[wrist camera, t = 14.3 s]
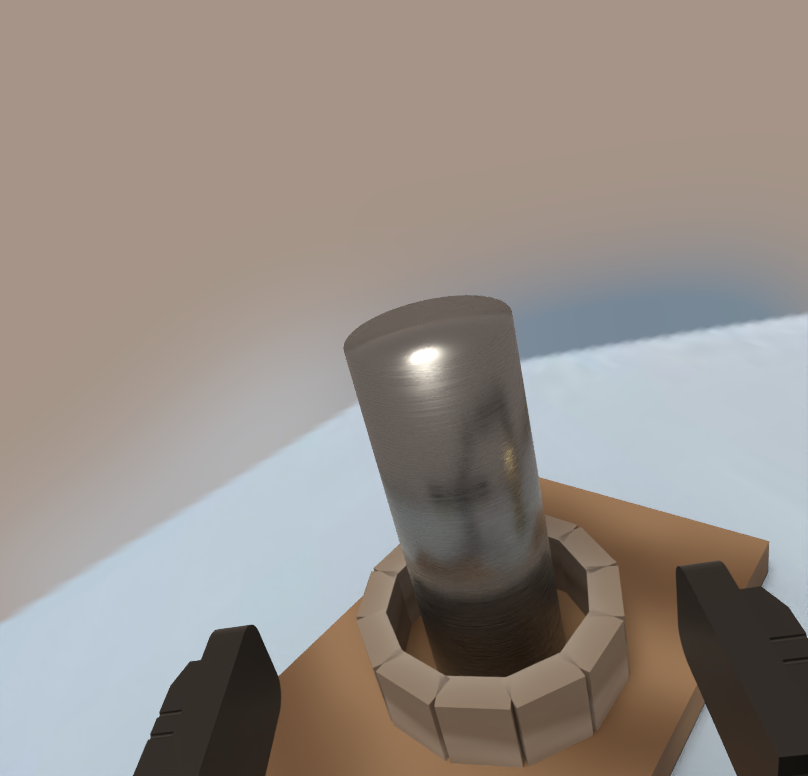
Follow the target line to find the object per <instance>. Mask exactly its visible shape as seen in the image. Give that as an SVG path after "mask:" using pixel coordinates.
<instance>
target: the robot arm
mask: <svg viewBox="0 0 808 776" xmlns="http://www.w3.org/2000/svg"><path fill="white" fill-rule="evenodd" d="M676 593H677V615H678V630H679V636H680V641H681V645H682V648H683V652H684V655H685V657H686V660H687V663H688V665H689V667H690V670H691V672H692V674H693V676H694V679H695V681H696V683H697V686H698V688H699V690H700V692H701V695H702V697H703V699H704V701H705V704H706V706H707V708H708V711H709V713H710V715H711V717H712V720H713V722H714V724H715V726H716V729H717V731H718V733H719V736H720V738H721V740H722V742H723V745H724V747H725V749H726V751H727V754H728V756H729V758H730V761H731V763H732V765H733V767H734V770H735V772H736V774H737V776H808V638H807V636H806V632H805V631H804V629H803V628H802V626H801V625H800V623H799V622H798V621H797V619H796V618H795V616H794V615H793V613H792V612H791V610H790V609H789V607H788V606H786V605H785V604H784V603H782V602H781V601H780V600H778V599H777V598H776V597H774V596H773V595H772V594H770V593H769V592H768V591H766V590H765V589H764V588H762V587H761V586H759V587H751V588H744V589H739V587H738V585H737V584H736V582H735V580H734V579H733V577H732V575H731V574H730V572H729V570H728V569H727V567H726V566H725V564H724V563H723V562H722V561H720V560H718V561H711V562H704V563H697V564H690V565H683V566H677V568H676ZM280 709H281V686H280V681H279V677H278V675H277V672H276V670H275V668H274V665H273V663H272V661H271V659H270V656H269V654H268V652H267V649H266V647H265V645H264V643H263V640H262V638H261V636H260V633H259V631H258V629H257V628H256V627H255V626H254V625H246V626H239V627H232V628H225V629H218V630H215V631H214V632H213V633H212V634H211V636H210V638H209V641H208V643H207V646H206V648H205V651H204V654H203V656H202V659H201V660H199V661H191V662H189V663H188V665H187V666H186V667H185V668H184V670H183V671H182V672H181V673H180V675H179V676H178V677H177V678H176V680H175V681H174V682H173V683H172V685H171V686H170V688H169V690H168V693H167V695H166V698H165V700H164V702H163V705H162V707H161V710H160V712H159V713H160V717H159V718H157V719H156V722H155V724H154V727H153V729H152V731H151V734H150V735H151V738H150V740H148V741H147V743H146V746H145V748H144V751H143V753H142V755H141V758H140V760H139V763H138V765H137V767H136V770H135V772H134V775H133V776H265V775H266V771H267V766H268V762H269V758H270V753H271V749H272V745H273V740H274V736H275V731H276V727H277V723H278V718H279V714H280Z"/></svg>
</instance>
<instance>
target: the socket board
mask: <svg viewBox="0 0 808 776" xmlns="http://www.w3.org/2000/svg"><path fill="white" fill-rule="evenodd" d="M539 483H540V489H541V495H542V501H543V507H544V513H545V520H546V526H547V532H548V538H549V544H550V550H551V557H552V563H553V569H554V575H555V581H556V587H557V594H558V600H559V606H560V612H561V618H562V624H563V631H564V637H565V644H566V645H565V647H564V648H563V650H562V651H561V652H560V653H558V654H556V655H554V656H551V657H549V658H547V659H545V660H543V661H541V662H538V663H536V664H534V665H532V666H530V667H527V668H525V669H523V670H521V671H519V672H516V673H514V674H512V675H510V676H508V677H474V676H445V675H443V674H442V673H440V672H438V671H437V668H436V665H435V661H434V658H433V655H432V651H431V648H430V644H429V641H428V637H427V634H426V631H425V627H424V624H423V620H422V617H421V613H420V610H419V607H418V603H417V600H416V596H415V593H414V589H413V586H412V583H411V579H410V576H409V572H408V569H407V565H406V562H405V559H404V555H403V552H402V548H401V545H400V544H399V545H398V546H397V547H396V548H395V549H394V550H393V551H392V552H391V553H390V554H388V555H387V556H386V557H385V558H384V559H383V560H382V561H381V562H380V563H379V564H378V565H377V566H375V567H374V571H371V574H370V577H369V580H368V583H367V586H366V589H365V592H364V595H363V596H362V597H361V598H360V599H359V600H358V601H357V602H356V603H355V604H354V605H353V606H352V607H351V608H350V609H349V610H348V611H347V612H346V613H345V614H344V615H342V616H341V617H340V618H339V619H338V620H337V621H336V622H335V623H334V624H333V625H332V626H331V627H330V628H329V629H328V630H327V631H326V632H325V633H324V634H323V635H321V636H320V637H319V638H318V639H317V640H316V641H315V642H314V643H313V644H312V645H311V646H310V647H309V648H308V649H307V650H306V651H305V652H304V653H303V654H302V655H300V656H299V657H298V658H297V659H296V660H295V661H294V662H293V663H292V664H291V665H290V666H289V667H288V668H287V669H286V670H285V671H284V672H283V673H282V674H281V675H279V676H278V677H279V681H280V686H281V709H280V714H279V718H278V723H277V727H276V731H275V736H274V740H273V745H272V749H271V753H270V758H269V762H268V766H267V771H266V775H265V776H670V774H671V772H672V770H673V768H674V766H675V764H676V762H677V760H678V758H679V756H680V754H681V752H682V749H683V747H684V745H685V743H686V741H687V739H688V737H689V735H690V733H691V731H692V729H693V727H694V725H695V722H696V720H697V718H698V716H699V714H700V712H701V710H702V708H703V706H704V704H705V701H704V699H703V697H702V695H701V692H700V690H699V688H698V686H697V683H696V681H695V679H694V676H693V674H692V672H691V670H690V667H689V665H688V663H687V660H686V657H685V655H684V652H683V648H682V645H681V641H680V636H679V630H678V615H677V593H676V568H677V566H683V565H690V564H697V563H704V562H711V561H718V560H720V561H722V562H723V563H724V564H725V566H726V567H727V569H728V570H729V572H730V574H731V575H732V577H733V579H734V580H735V582H736V584H737V585H738V587H739V589H744V588H751V587H759V586H761V585H762V583H763V581H764V579H765V577H766V575H767V573H768V558H769V541H766V540H762V539H759V538H755V537H752V536H748V535H744V534H741V533H737V532H734V531H730V530H726V529H723V528H719V527H716V526H712V525H708V524H705V523H701V522H698V521H694V520H690V519H687V518H683V517H680V516H676V515H672V514H669V513H665V512H662V511H658V510H655V509H651V508H647V507H644V506H640V505H637V504H633V503H629V502H626V501H622V500H619V499H615V498H611V497H608V496H604V495H601V494H597V493H593V492H590V491H586V490H583V489H579V488H575V487H572V486H568V485H565V484H561V483H557V482H554V481H550V480H547V479H543V478H539Z"/></svg>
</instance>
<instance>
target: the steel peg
mask: <svg viewBox="0 0 808 776" xmlns="http://www.w3.org/2000/svg"><path fill="white" fill-rule="evenodd" d="M344 353H345V356H346V360H347V363H348V367H349V370H350V373H351V376H352V380H353V384H354V387H355V391H356V394H357V397H358V401H359V404H360V408H361V411H362V415H363V418H364V421H365V425H366V428H367V432H368V435H369V439H370V442H371V445H372V449H373V452H374V456H375V459H376V463H377V466H378V469H379V473H380V476H381V480H382V483H383V487H384V490H385V493H386V497H387V500H388V504H389V507H390V511H391V514H392V517H393V521H394V524H395V528H396V531H397V535H398V538H399V541H400V545H401V548H402V552H403V555H404V559H405V562H406V565H407V569H408V572H409V576H410V579H411V583H412V586H413V589H414V593H415V596H416V600H417V603H418V607H419V610H420V613H421V617H422V620H423V624H424V627H425V631H426V634H427V637H428V641H429V644H430V648H431V651H432V655H433V658H434V661H435V665H436V668H437V671H438V672H440V673H442V674H443V675H445V676H474V677H508V676H510V675H512V674H514V673H516V672H519V671H521V670H523V669H525V668H527V667H530V666H532V665H534V664H536V663H538V662H541V661H543V660H545V659H547V658H549V657H551V656H554V655H556V654H558V653H560V652H561V651H562V650H563V648H564V647H565V645H566V644H565V637H564V631H563V624H562V618H561V612H560V606H559V600H558V594H557V587H556V581H555V575H554V569H553V563H552V557H551V550H550V544H549V538H548V532H547V526H546V520H545V513H544V507H543V501H542V495H541V489H540V483H539V476H538V470H537V464H536V458H535V452H534V445H533V439H532V433H531V427H530V421H529V415H528V408H527V402H526V396H525V390H524V384H523V378H522V371H521V365H520V359H519V353H518V347H517V341H516V335H515V328H514V322H513V316H512V311H511V309H510V307H509V306H508V305H507V304H506V303H504V302H502V301H500V300H498V299H494V298H491V297H485V296H470V295H465V296H448V297H441V298H435V299H429V300H424V301H420V302H416V303H412V304H408V305H405V306H402V307H399V308H396V309H393V310H390V311H388V312H386V313H383V314H381V315H379V316H377V317H375V318H373V319H371V320H369V321H367V322H365V323H364V324H362V325H361V326H359V327H358V328H357V329H356V330H354V331H353V332H352V333H351V334H350V335H349V337H348V338H347V339H346V341H345V343H344Z"/></svg>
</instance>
